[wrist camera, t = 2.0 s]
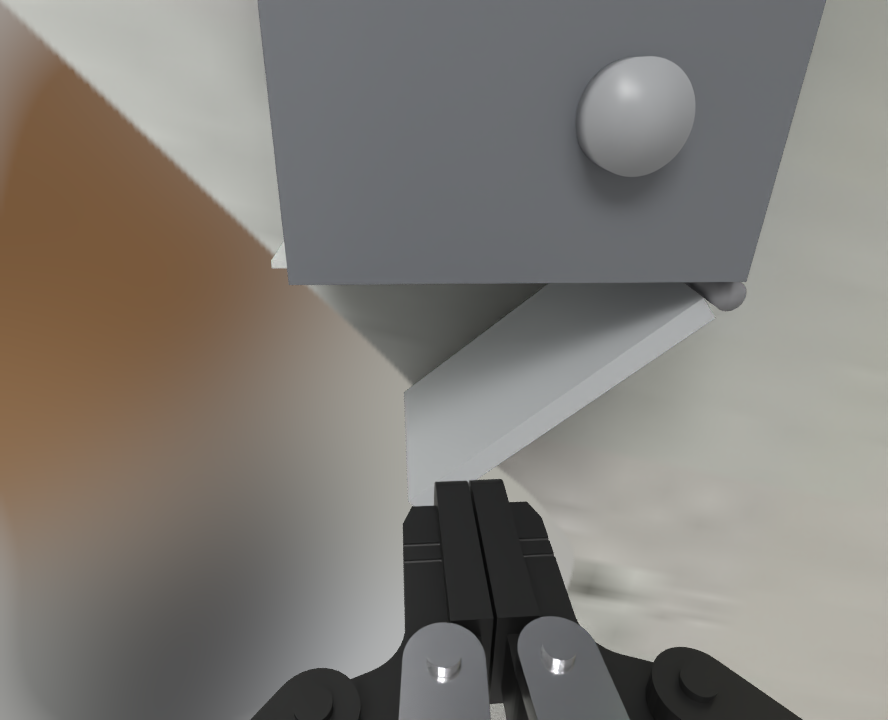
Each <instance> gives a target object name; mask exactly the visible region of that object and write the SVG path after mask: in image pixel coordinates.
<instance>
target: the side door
mask: <svg viewBox="0 0 888 720" xmlns="http://www.w3.org/2000/svg"><path fill="white" fill-rule="evenodd" d="M685 284H686V285H685ZM696 292H697V293H696ZM700 295H701V296H700ZM745 297H746V288H745V286H744V284H743V283H741V282H650V283H549V284H547V285H546V286H545V287H543V288H542V289H541V290H539V291H538V292H537V293H535V294H534V295H533V296H531V297H530V298H529V299H527V300H526V301H525V302H523V303H522V304H521V305H519V306H518V307H517V308H515V309H514V310H513V311H511V312H510V313H509V314H507V315H506V316H505V317H503V318H502V319H501V320H499V321H498V322H497V323H495V324H494V325H493V326H492V327H490V328H489V329H488V330H486V331H485V332H484V333H482V334H481V335H480V336H478V337H477V338H476V339H474V340H473V341H472V342H470V343H469V344H468V345H466V346H465V347H464V348H462V349H461V350H460V351H458V352H457V353H456V354H454V355H453V356H452V357H450V358H449V359H448V360H446V361H445V362H444V363H442V364H441V365H440V366H438V367H437V368H436V369H434V370H433V371H432V372H430V373H429V374H428V375H426V376H425V377H424V378H422V379H421V380H420V381H418V382H417V383H416V384H414V385H413V386H412V387H410V388H409V389H408V390H407V391H405V392H404V402H405V428H406V454H407V455H406V456H407V482H408V502H409V503H411V504H412V505H413V506H434V483H435V482H440V481H468V483H469V480H476V479H478V478H479V477H481V476H482V475H484V474H485V473H487V472H488V471H490V470H491V469H493V468H494V467H496V466H497V465H499V464H500V463H502V462H503V461H505V460H506V459H508V458H509V457H510V456H512V455H513V454H515V453H516V452H518V451H519V450H521V449H522V448H524V447H525V446H527V445H528V444H530V443H531V442H533V441H534V440H536V439H537V438H539V437H540V436H542V435H543V434H544V433H546V432H547V431H549V430H550V429H552V428H553V427H555V426H556V425H558V424H559V423H561V422H562V421H564V420H565V419H567V418H568V417H570V416H571V415H573V414H574V413H576V412H577V411H578V410H580V409H581V408H583V407H584V406H586V405H587V404H589V403H590V402H592V401H593V400H595V399H596V398H598V397H599V396H601V395H602V394H604V393H605V392H607V391H608V390H610V389H611V388H612V387H614V386H615V385H617V384H618V383H620V382H621V381H623V380H624V379H626V378H627V377H629V376H630V375H632V374H633V373H635V372H636V371H638V370H639V369H641V368H642V367H644V366H645V365H646V364H648V363H649V362H651V361H652V360H654V359H655V358H657V357H658V356H660V355H661V354H663V353H664V352H666V351H667V350H669V349H670V348H672V347H673V346H675V345H676V344H678V343H679V342H680V341H682V340H683V339H685V338H686V337H688V336H689V335H691V334H692V333H694V332H695V331H697V330H698V329H700V328H701V327H703V326H704V325H706V324H707V323H709V322H710V321H712V320H713V319H714V318H716V317H715V316H714V314H713V312H712V311H711V309H710V308H709V306H708V304H707V303H706V301H705V299H706V300H707V301H709V302H710V303H712V304H713V305H714V306H716V307H717V308H718V309H720V310H722V311H731V310H734V309H736V308H737V307H739V306H740V305H741V304H742V302H743V301H744V299H745ZM704 298H705V299H704Z"/></svg>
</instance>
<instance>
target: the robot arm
mask: <svg viewBox="0 0 888 720" xmlns="http://www.w3.org/2000/svg"><path fill="white" fill-rule="evenodd" d="M403 557H404V559H403V560H404V605H405V634H404V639H403V641H402V643H401V646H400V647H399V649H398V650H397V652H396V653H395V654H394V656H393V657H392V658H391V659H390V660H389V661H387V662H386V663H385V664H383V665H382V666H380V667H379V668H377V669H375V670H372V671H370V672H368V673H365V674H363V675H360V676H358V677H355V678H353V679H349V678H348V677H347V676H346V675H344V674H342V673H341V672H339V671H336V670H333V669H327V668H317V669H311V670H308V671H305V672H302V673H300V674H298V675H296V676H294V677H293V678H292V679H290V680H289V681H288V682H286V683H285V684H284V685H283V686H282V687H281V688H280V689H279V690H278V691H277V692H276V694H274V696H273V697H272V698H271V699H270V700H269V701H268V702H267V703H266V704H265V705H264V706H263V707H262V708H261V709H260V710H259V711H258V712H257V713H256V715H255V716H254V717H253V718H252V719H251V720H491V718H490V706H489V704H496V703H504V708H505V714H506V719H507V720H802V719H801V718H800V717H798V716H797V715H795V714H794V713H792V712H791V711H789V710H788V709H787V708H785V707H784V706H782V705H781V704H779V703H778V702H777V701H775V700H774V699H772V698H771V697H769V696H768V695H766V694H765V693H764V692H762V691H761V690H759V689H758V688H756V687H755V686H753V685H752V684H751V683H749V682H748V681H746V680H745V679H743V678H742V677H741V676H739V675H738V674H736V673H735V672H733V671H732V670H730V669H729V668H728V667H726V666H725V665H723V664H722V663H720V662H719V661H717V660H716V659H714V658H713V657H711V656H710V655H708V654H706V653H704V652H701V651H699V650H696V649H692V648H687V647H674V648H670V649H667V650H665V651H663V652H661V653H660V654H659V655H658V656H657V657H656V659H655V661H654V662H650V661H646V660H642V659H638V658H634V657H630V656H626V655H622V654H618V653H615V652H612V651H610V650H608V649H606V648H604V647H602V646H601V645H599V644H598V643H596V642H595V641H594V639H593V638H592V637H591V635H590V634H589V633H588V632H587V631H586V630H585V629H584V628H582V627H581V626H580V625H579V623H578V622H577V619H576V617H575V614H574V611H573V609H572V606H571V603H570V600H569V597H568V594H567V591H566V588H565V585H564V582H563V579H562V576H561V573H560V570H559V567H558V564H557V562H556V558H555V557H554V554H553V550H552V547H551V544H550V541H549V540H548V535H547V532H546V529H545V526H544V523H543V520H542V518H541V517H540V515H539V514H538V513H537V512H536V511H535V510H534V509H533V508H532V507H531V506H530V505H529V504H528V502H509V501H508V497H507V494H506V490H505V486H504V484H503V481H502V480H501V479H491V480H469V483H468V481H440V482H435V483H434V506H412V508H411V510H410V512H409V514H408V515H407V517H406V519H405V521H404V523H403Z"/></svg>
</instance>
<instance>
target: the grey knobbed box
mask: <svg viewBox="0 0 888 720" xmlns="http://www.w3.org/2000/svg"><path fill="white" fill-rule="evenodd" d="M825 3H826V0H258V9H259V18H260V27H261V36H262V46H263V55H264V64H265V73H266V82H267V91H268V100H269V109H270V118H271V127H272V136H273V145H274V154H275V163H276V172H277V181H278V190H279V199H280V208H281V217H282V226H283V235H284V241H283V243H282V244H281V246H280V248H279V249H278V251H277V252H276V254H275V256H274V257H273V259H272V260H271V264H272V268H287V272H288V280H289V285H354V284H502V283H650V282H746V281H747V277H748V274H749V270H750V267H751V263H752V260H753V256H754V253H755V249H756V246H757V242H758V239H759V235H760V232H761V228H762V225H763V221H764V218H765V214H766V211H767V207H768V203H769V200H770V196H771V193H772V189H773V186H774V182H775V179H776V175H777V172H778V168H779V165H780V161H781V158H782V154H783V151H784V147H785V144H786V140H787V137H788V133H789V130H790V126H791V122H792V119H793V115H794V112H795V108H796V105H797V101H798V98H799V94H800V91H801V87H802V84H803V80H804V77H805V73H806V70H807V66H808V63H809V59H810V56H811V52H812V49H813V45H814V41H815V38H816V34H817V31H818V27H819V24H820V20H821V17H822V13H823V10H824V6H825Z"/></svg>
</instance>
